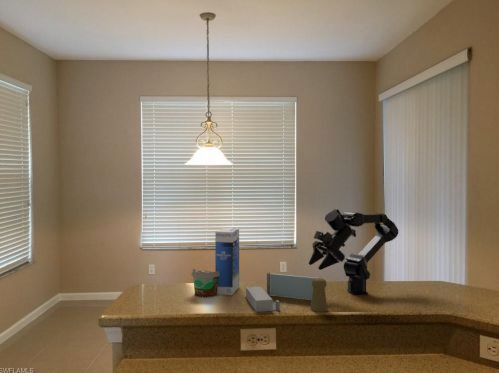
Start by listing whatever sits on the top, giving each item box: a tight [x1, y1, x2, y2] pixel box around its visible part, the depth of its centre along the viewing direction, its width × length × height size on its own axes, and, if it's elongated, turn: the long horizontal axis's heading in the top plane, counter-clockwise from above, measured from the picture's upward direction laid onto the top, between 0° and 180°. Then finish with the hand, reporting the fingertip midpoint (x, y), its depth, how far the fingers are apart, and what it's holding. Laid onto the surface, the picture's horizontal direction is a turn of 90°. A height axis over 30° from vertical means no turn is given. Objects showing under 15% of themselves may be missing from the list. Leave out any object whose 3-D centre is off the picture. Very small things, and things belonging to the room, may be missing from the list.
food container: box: [191, 268, 220, 298], centre depth 156 cm, size 12×6×10 cm, turn 68°
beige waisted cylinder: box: [310, 277, 328, 313], centre depth 138 cm, size 6×6×11 cm
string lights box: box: [214, 227, 240, 296], centre depth 163 cm, size 13×8×26 cm, turn 168°
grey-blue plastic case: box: [245, 272, 281, 313], centre depth 146 cm, size 10×20×9 cm, turn 12°
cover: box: [270, 272, 316, 301], centre depth 152 cm, size 2×20×8 cm, turn 67°
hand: (314, 266), depth 152 cm, fingers open, 9 cm apart
